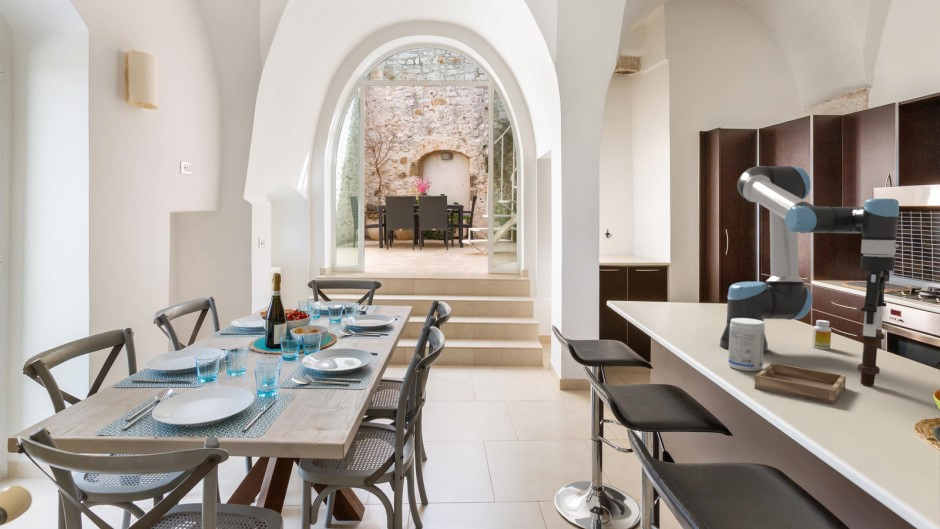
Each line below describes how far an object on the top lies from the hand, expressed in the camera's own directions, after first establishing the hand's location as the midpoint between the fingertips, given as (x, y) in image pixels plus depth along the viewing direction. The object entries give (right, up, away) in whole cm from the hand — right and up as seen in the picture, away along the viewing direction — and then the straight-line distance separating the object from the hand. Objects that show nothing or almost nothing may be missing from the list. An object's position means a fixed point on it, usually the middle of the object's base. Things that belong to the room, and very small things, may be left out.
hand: (872, 332), depth 149 cm
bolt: (0, -15, +2) cm, 15 cm away
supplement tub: (-26, -13, +17) cm, 34 cm away
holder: (-21, -15, -2) cm, 26 cm away
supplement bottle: (+15, -11, +45) cm, 48 cm away
